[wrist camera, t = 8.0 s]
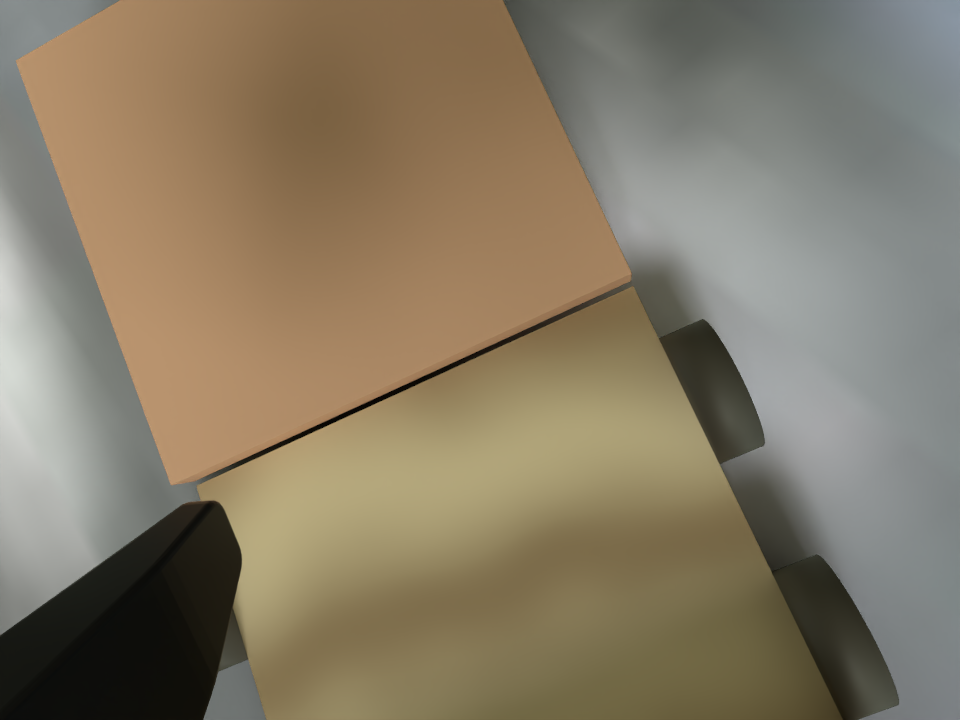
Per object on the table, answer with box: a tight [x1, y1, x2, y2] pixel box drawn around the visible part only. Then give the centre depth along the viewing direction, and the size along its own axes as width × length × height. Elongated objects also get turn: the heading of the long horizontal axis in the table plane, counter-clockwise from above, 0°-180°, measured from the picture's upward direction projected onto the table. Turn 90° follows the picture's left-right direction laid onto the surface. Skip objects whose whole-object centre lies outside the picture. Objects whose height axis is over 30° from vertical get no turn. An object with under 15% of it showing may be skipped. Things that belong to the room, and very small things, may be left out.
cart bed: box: [197, 286, 899, 720], centre depth 19 cm, size 13×16×6 cm
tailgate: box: [16, 0, 632, 485], centre depth 21 cm, size 1×14×14 cm
